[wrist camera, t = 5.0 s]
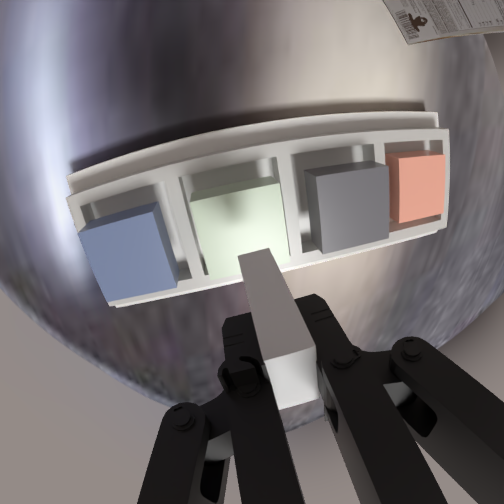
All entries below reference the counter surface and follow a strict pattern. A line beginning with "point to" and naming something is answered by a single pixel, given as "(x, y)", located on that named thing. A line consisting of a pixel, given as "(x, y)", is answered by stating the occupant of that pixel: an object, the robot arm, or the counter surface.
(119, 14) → the counter surface
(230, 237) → the key sage
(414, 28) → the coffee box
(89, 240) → the key slate blue
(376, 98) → the counter surface
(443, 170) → the key coral
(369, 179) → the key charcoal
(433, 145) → the keypad board
